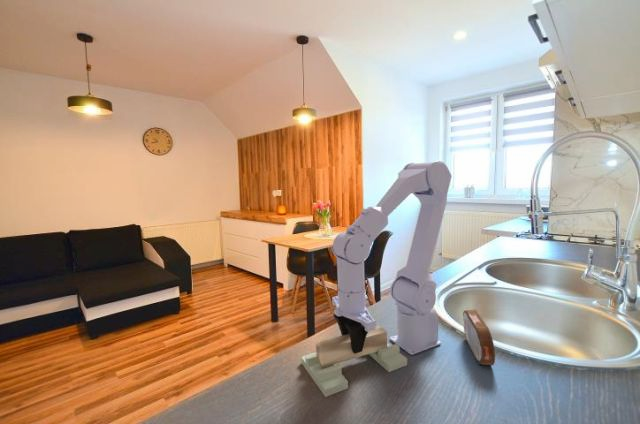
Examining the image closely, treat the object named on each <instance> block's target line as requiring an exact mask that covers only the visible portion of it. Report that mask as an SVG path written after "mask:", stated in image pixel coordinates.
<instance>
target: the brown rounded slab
mask: <svg viewBox="0 0 640 424" xmlns="http://www.w3.org/2000/svg"><path fill="white" fill-rule="evenodd" d="M462 317H463V332H464V336H465V338H466V339H465V340H466V342H467V344H468V346H469V349H470V351H471V352H472V354H473V356H474V358H475V360H476V361H477V364H479V365H485V366H487V365H489V366H494V365H495V362H496V351H495V344H494V340H493V336H492V333H491V330H490V329H489V326H488V325H487V323H486V321H484V319H483V318H482V316H481V314H480V313H479V312H478V310H477V309H465V310H463V313H462Z"/></svg>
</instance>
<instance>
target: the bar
mask: <svg viewBox="0 0 640 424" xmlns="http://www.w3.org/2000/svg"><path fill="white" fill-rule="evenodd" d="M387 344H388V331H387V330H386V329H384V328H383V327H382V326H380V325H377V326H376V330H373V331H369V332H368V333H367V336H366V338H365V342H364V346H363V350H362V352H359V353H356V354H354V353H353V351H352V347H351V340H350V335H349V334H346V335H343V336H342V335H340V336H335V337H332V338H328V339H325V340H320V341H317V342H315V348H316V349H315V352H316V355H317V361H318V363H319V364H320V366H321V367H322V368H324V367H327V366H330V365H337V364H340V363H343V362H346V361H350V360H353V359H356V358H359V357H362V356H366V355H369V354H370V353H373V352H376V351H378V350H380V349H383V348H386V347H387Z"/></svg>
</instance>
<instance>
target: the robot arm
mask: <svg viewBox="0 0 640 424" xmlns="http://www.w3.org/2000/svg"><path fill="white" fill-rule="evenodd" d="M397 175H398V176H397V179H396V180H395V181H394V182H393V184H392V185H391V186H390V187H389V189H388V190H387V191H386V192H385V194H384V195H383V196H382V197H381V199H380V200H379V201H378V203H377V204H376V205H375V206H368V207H367V208H362V210H361V211H360V215H359V216H358V218H356V219H355V220H354V221H353V223H352V224H351V225H348V227H346V231H343V232H339V234H337V235H336V236H335V238H334V239H333V242H332V244H331V246H330V247H331V252H332V253H333V255H334V256H335V258H336V264H337V265H336V269H337V270H336V272H337V273H336V274H337V295H336V296H332V297H331V298H332V306H334V307H336V309H334V310H333V311H334V312H333V318H334V320H336V323H337V325H338V328H339V330H340V331H339V332H340V336H343V335H346V334H349V335H350V340H351V347H352V351H353V353H354V354H356V353H359V352H362V350H363V346H364V342H365V338H366V336H367V333H368V332H369V331H373V330H376V324H377V323H376V320H375V319H374V318H373V317H372V316H371V315H372V314H371V313H370V312H369V310H368V309H367V307H366V291H365V289H366V288H365V287H366V285H365V260H366V259H367V258H368V257H369V255H370V251H371V247H372V245H373V242H374V241H375V240H376V239H377V237H379V236H380V234H381V233H382V231H384V229H385V228H386V227H387V226H388V224H389V216H390V215H391V214H392V213H393V212H394V210H395V209H397V208H398V207H399V206H400V205H401V203H403V202H404V201H405V200H406V199H407V198H408V197H410V195H411V194H413V195H414V196H415V198H417V199H418V201H419V202H420V209H419V213H418V216H417V221H416V225H415V229H414V233H413V237H412V241H411V245H410V249H409V252H408V253H409V254H408V258H407V262H406V265H405V266H403V268H401V269H399V270H398V271H397V273H396V276H395V277H394V280H393V281H392V283H391V284H390V289H389V290H390V296H391V298H392V299H393V300H394V301H395V304H394V305H396V324H397V325H396V327H397V328H396V329H397V333H396V335H393V336H390V337H389V340H390V341H391V342H393V343H394V344H397V345H398V346H399V348H401V349H403V350H404V351H405V352H406V353H408V354H410V355H411V356H412V355H413V356H414V355H415V354H419V353H422V352H424V351H426V350H430V349H432V348H434V347H437V346H439V345H441V344H442V342H441V341H440V340H439V316H438V312H437V310H436V309H435V304H436V301H437V299H436V298H437V295H436V294H437V293H436V289H437V282H436V281H435V279H434V277H433V276H432V275H431V273H430V271H431V267H432V264H433V263H432V262H433V259H434V254H435V250H436V247H437V242H438V239H439V234H440V230H441V225H442V222H443V219H444V218H443V217H444V214H445V210H446V206H447V201H448V200H447V199H448V192H449V188H450V184H451V179H452V176H453V175H452V173H451V172H450V169H449V168H448V166H447V164H446V163H445V162H443V161H441V160H437V161H430V162H417V163H415V162H410V163H408V164H406V165H404V167H403V168H402V169H401V170H400V171H399V172H398V173H397Z"/></svg>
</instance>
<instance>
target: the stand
mask: <svg viewBox="0 0 640 424" xmlns="http://www.w3.org/2000/svg"><path fill="white" fill-rule="evenodd" d="M400 351H401V349H400V346H398V345H397V344H396V343H394V344H392V345H390V344H389V343H387V347H386V348H383V349H380V350H378V351H376V352H373V353H370V354H368V355H369V356H370V357H371V358H372V359H373V360H374V361H375V362H377V363H378V364H379V365H380V366H381V367H382V368H384V369H385V370H386V371H387V372H388V373H391V372H394V371H395V370H399V369H401V368H403V367H406V366H408V358H407V357H406V356H405V355H403V354H402V353H400ZM300 358H301V361H300V362H301V364H302V366H303V367H304V368H305V370H306V372H307V373H308V375H309V376H310V377H311V379H312V380H313V381H314V383H315V385H316V386H317V387H318V389H319V391H321V393H322V394H323V396H324V398H328V397H329V396H332V395H334V394H337V393H340V392H342V391H345V390H348V389H349V381H348V380H347V379H346V377H345V375H344V374H342V366H341V364H340V363H337V364H334V365H330V366H327V367H324V368H322V367H321V366H320V364H319V363H318V361H317V355H316V351H315V352H311V353H309V354H306V355H303V356H301V357H300Z"/></svg>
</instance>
